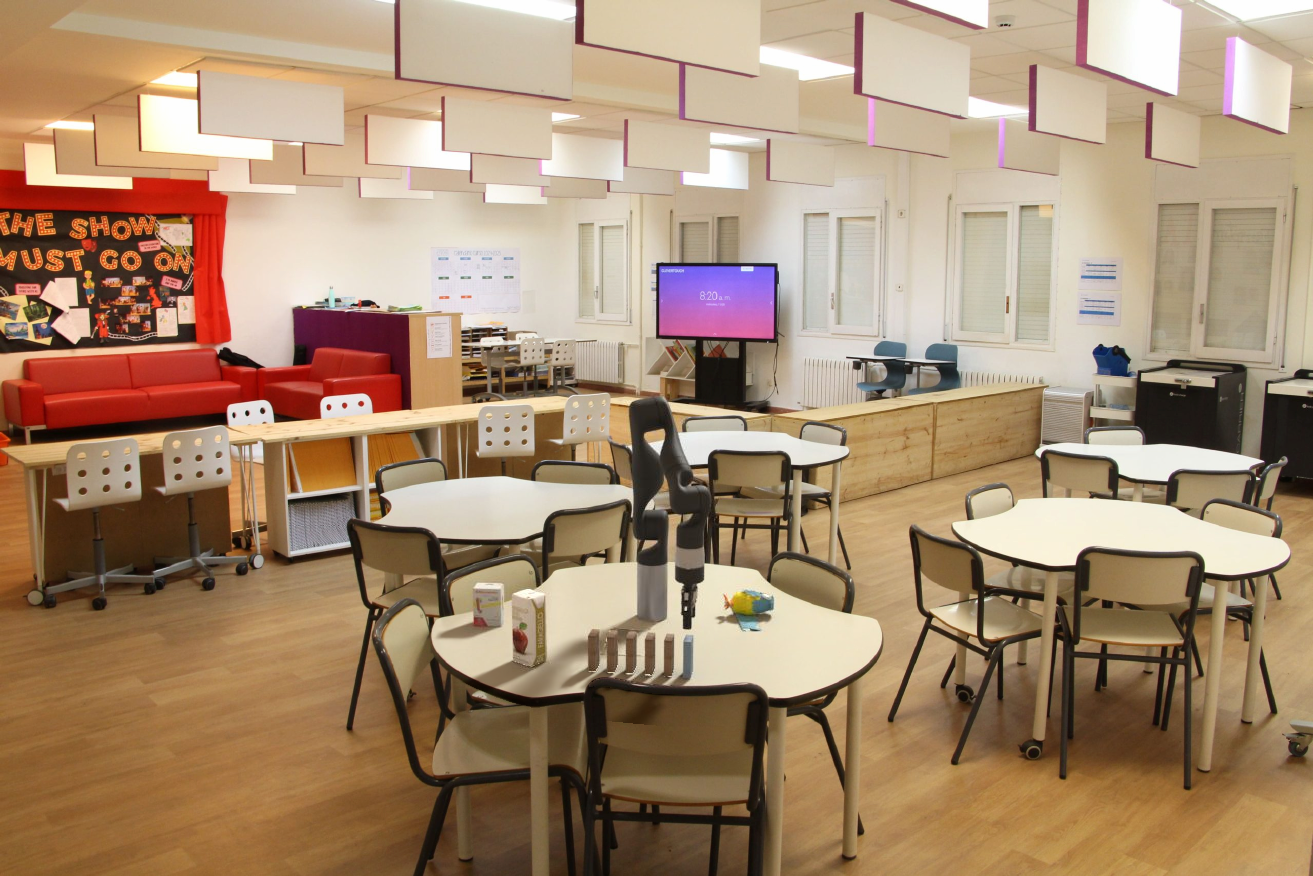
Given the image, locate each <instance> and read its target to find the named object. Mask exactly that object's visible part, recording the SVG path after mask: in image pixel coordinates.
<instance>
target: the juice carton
mask: <svg viewBox="0 0 1313 876" xmlns="http://www.w3.org/2000/svg"><path fill="white" fill-rule="evenodd" d="M511 624H512V625H511V629H512V631H511V632H512V633H511V634H512V661H513V662H514V661H516V662H519V663H522V664H525V665H527V666H533V665H536V664H538V663H541V662H543V663H545V662H547V661H548V660H547V659H548V643H547V642H548V641H547V640H548V637H547V635H548V634H547V633H548V631H547V629H548V628H547V626H548V625H547V593H544V592H537V591H535V590H533V589H531V588H527V589H522V590H519V591H517V592H514V593H511ZM546 660H547V661H546ZM544 661H545V662H544ZM516 662H515V663H516ZM519 663H518V664H519ZM522 664H521V665H522ZM541 664H542V663H541ZM525 665H524V666H525ZM538 665H539V664H538ZM527 666H526V667H527ZM536 666H537V665H536ZM533 667H534V666H533Z"/></svg>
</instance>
